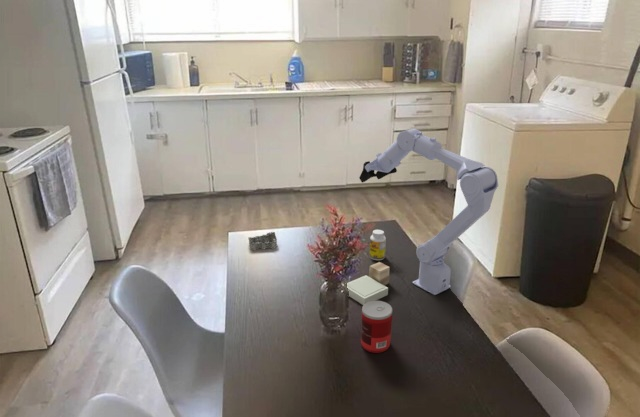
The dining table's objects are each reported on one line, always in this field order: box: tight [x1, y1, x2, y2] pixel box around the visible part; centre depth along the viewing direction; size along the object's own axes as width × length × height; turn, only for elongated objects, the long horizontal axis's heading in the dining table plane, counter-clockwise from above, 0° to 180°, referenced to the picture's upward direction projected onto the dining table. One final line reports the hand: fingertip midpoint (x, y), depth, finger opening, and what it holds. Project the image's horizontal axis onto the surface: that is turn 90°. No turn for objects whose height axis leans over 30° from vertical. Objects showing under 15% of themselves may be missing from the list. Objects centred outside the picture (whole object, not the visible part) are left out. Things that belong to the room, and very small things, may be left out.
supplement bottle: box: [369, 229, 387, 261], centre depth 168 cm, size 6×6×10 cm
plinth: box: [346, 274, 389, 306], centre depth 147 cm, size 10×10×3 cm
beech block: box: [368, 261, 390, 286], centre depth 153 cm, size 4×4×6 cm
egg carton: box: [248, 231, 278, 251], centre depth 179 cm, size 11×8×4 cm
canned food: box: [360, 300, 393, 354], centre depth 123 cm, size 8×8×11 cm
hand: (369, 178), depth 161 cm, fingers open, 7 cm apart
